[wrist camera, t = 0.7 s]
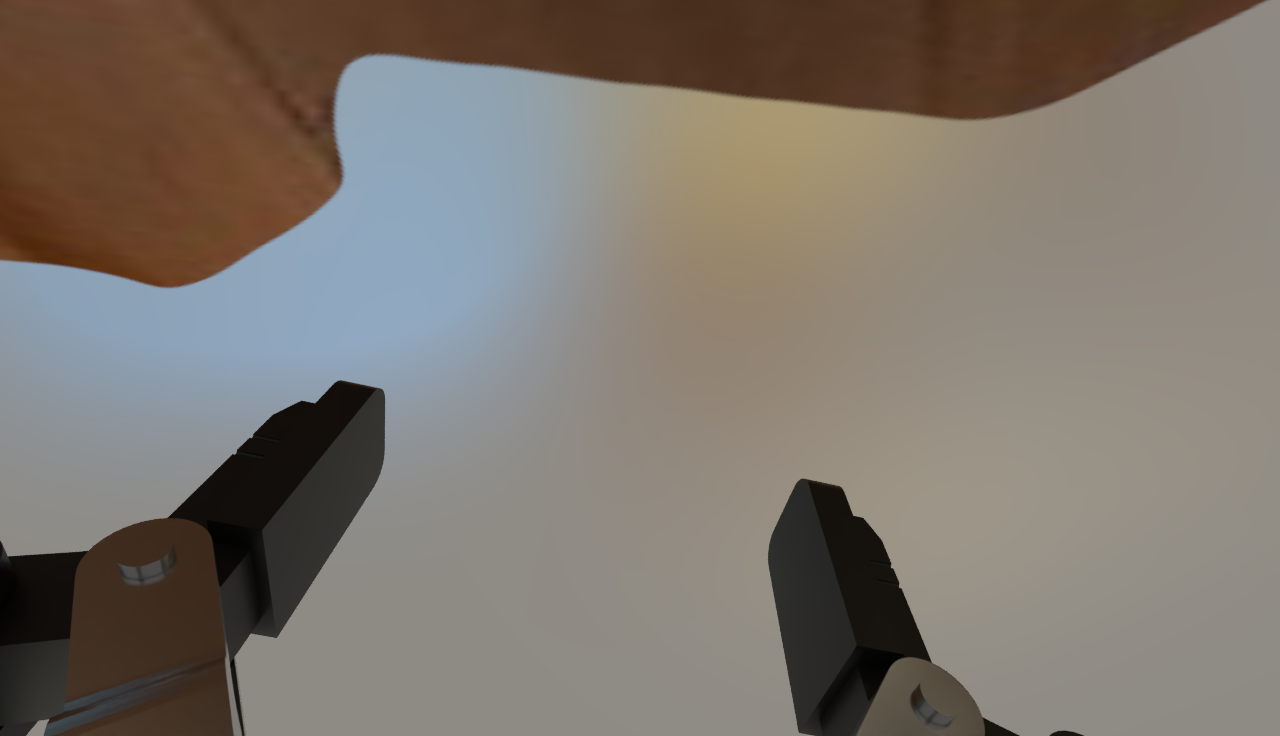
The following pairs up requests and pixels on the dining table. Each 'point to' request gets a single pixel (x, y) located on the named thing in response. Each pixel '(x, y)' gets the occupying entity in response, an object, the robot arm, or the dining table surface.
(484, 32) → the dining table surface
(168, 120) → the dining table surface
